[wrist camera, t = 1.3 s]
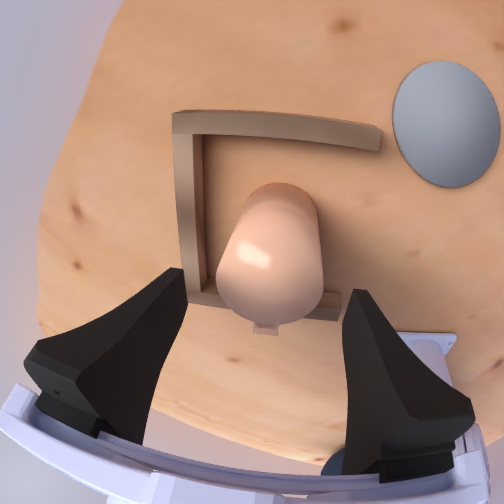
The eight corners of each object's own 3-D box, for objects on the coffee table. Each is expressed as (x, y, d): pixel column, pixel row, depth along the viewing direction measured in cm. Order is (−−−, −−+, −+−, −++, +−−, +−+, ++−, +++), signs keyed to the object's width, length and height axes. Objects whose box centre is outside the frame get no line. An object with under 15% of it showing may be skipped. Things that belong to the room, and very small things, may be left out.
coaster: (481, 194, 15) (485, 197, 15) (382, 171, 16) (385, 174, 16) (501, 85, 11) (506, 86, 10) (397, 45, 12) (401, 44, 11)
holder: (335, 304, 22) (337, 321, 20) (193, 287, 23) (186, 302, 22) (374, 125, 15) (382, 130, 13) (183, 110, 16) (171, 113, 14)
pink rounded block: (307, 278, 21) (306, 355, 15) (241, 270, 22) (219, 344, 16) (321, 187, 17) (332, 246, 11) (243, 179, 18) (214, 233, 12)
